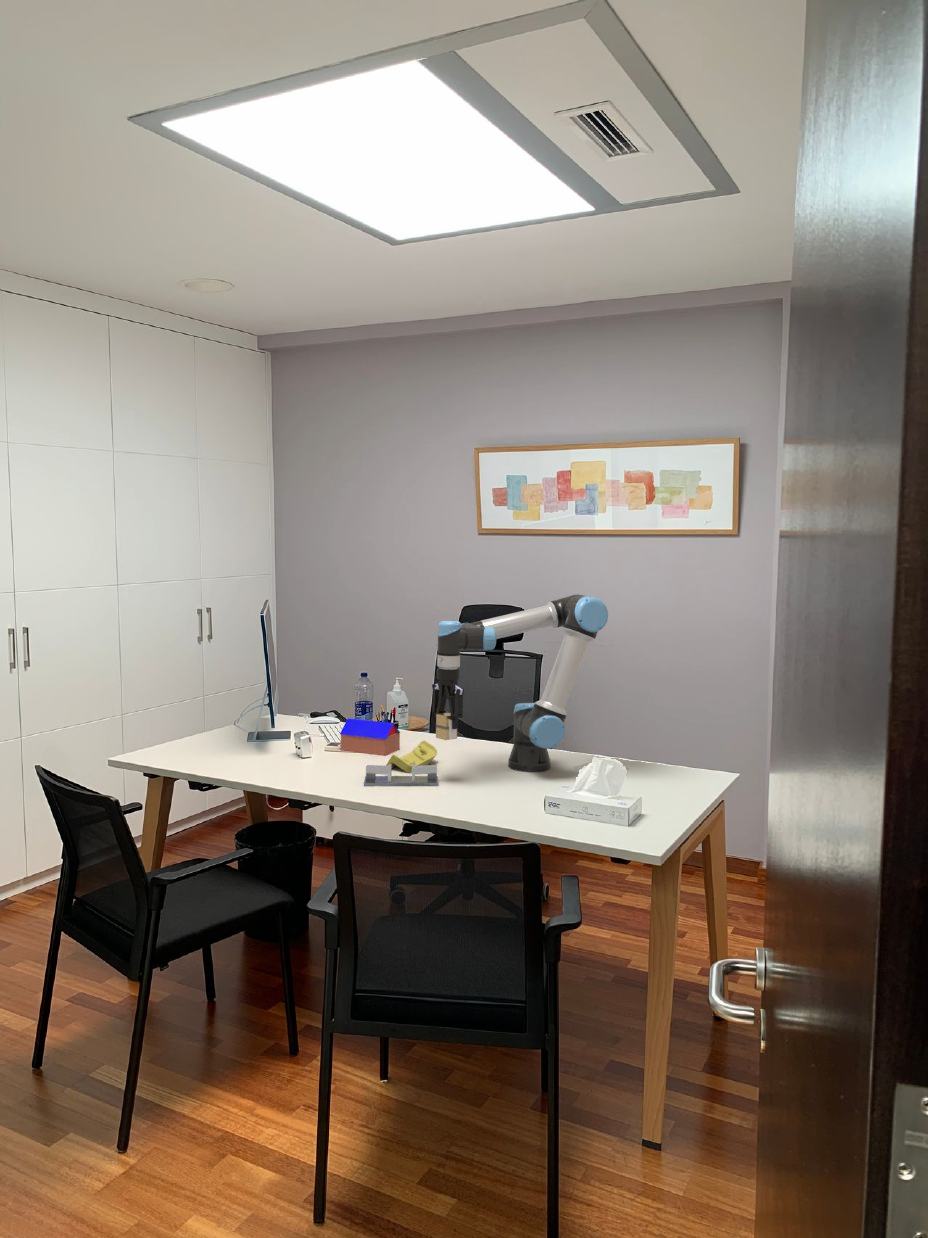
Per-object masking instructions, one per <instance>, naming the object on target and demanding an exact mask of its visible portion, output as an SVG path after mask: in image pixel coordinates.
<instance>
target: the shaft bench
mask: <svg viewBox="0 0 928 1238" xmlns="http://www.w3.org/2000/svg"><path fill="white" fill-rule="evenodd" d="M392 769H393V767H392V764H389V765H388V766H386V765H382V764H381V765H379V764H378V765H375V764H367V765H366V766H365V776H364V781H363V782H364V783H363V787H439V776H438V765H436V764H430V765H429V764H428V765H420V766H415V764H412V772H411V775H392Z"/></svg>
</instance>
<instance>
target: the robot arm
mask: <svg viewBox="0 0 928 1238" xmlns="http://www.w3.org/2000/svg"><path fill="white" fill-rule="evenodd" d="M608 619H609V611H608V608H607V606H606V604H605V603H604V602H603V601H602V600H601V599H600V598H597V597H595V596H591V595H583V594H572V595H568V596H565V597H562V598H559V599H554V600H551V601H548V602H547V604H546V605H543V606H538V607H534V608H529V609H525V610H521V611H517V612H512V613H508V614H504V615H500V616H495V617H491V618H487V619H482V620H480V621H479V620H477V621H473V622H470V623H469V622H464V623H461V622H460V621H455V620H442V621H440V622H439V623H438V628H437V661H436V662H437V663H436V666H437V669H436V679H437V680H438V681H437V683H434V684H431V687H432V688H431V689H432V706H431V707H432V709H431V712H432V714H434V715H436V714H440V713H445V710H446V709H445V708H446V703H447V701H448V706H449V713H450V714H451V718H449V739H451V740H455V739H454V738H456V731H457V732H458V727H459V726H458V724H459V722H458V721H459V719H462V718H463V717H464V715H463V714H464V710H463V709H464V692H465V688H463V687H462V688H461V687H459V683H458V681H459V680H460V678H461V677H460V674H461V671H460V666H461V650H462V651H466V650H468V651H469V650H470V651H488V650H489V651H490V650H494V649H495V647H496V644H497V640H498V639H501V638H507V637H511V636H515V635H519V634H522V633H523V634H524V633H528V632H531V631H536V630H541V629H545V628H548V627H549V628H550V627H552V628H553V629H557V628H562V630H563V631H564V637H563V639H562V642H561V644H560V645H561V646H560V647H559V651H558V653H557V656H556V659H555V660H554V664H553V667H552V669H551V670H550V671H551V672H550V674H549V678H548V679H547V681H546V682H547V683H546V686H545V687H544V689H543V693H542V696H541V698H540V699H539V700H538V701H537V700H536V701H535V702H521V703H516V704H515V705H514V709H513V745H512V748H511V751H510V754H509V758H508V766H507V767H509V768H510V769H511V770H516V771H520V772H521V771H522V772H543V771H547V770H550V768H551V765H552V764H551V763H552V762H551V758H550V755H549V751H548V750H549V749H553V748H555V747H557V746H559V744H561V742H562V741H563V740H564V738H565V736H566V726H565V722H566V721H565V720H566V718H567V715H568V713H567V711H566V709H565V708H566V705H567V703H568V700H569V697H570V694H571V692H572V690H573V686H574V685H575V681H576V679H577V676H578V674H579V670H580V668H581V665H582V662H583V660H584V657H585V654H586V652H587V649H588V647H589V644H590V643H591V642H594V641H596V637H597V636H598V633H599V631H601V630H602V629H604V628H605V626H606V625H607V623H608ZM454 715H455V716H454Z"/></svg>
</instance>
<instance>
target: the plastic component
mask: <svg viewBox="0 0 928 1238" xmlns="http://www.w3.org/2000/svg"><path fill="white" fill-rule="evenodd" d="M437 755H438V749H437V748H436V747H435V746H434V745H432V744H431V743H429V742H428V741H426V740H422V741H420V742H419V744H417V746H416V747H414V748H413V749H412V751H411V752H409V753H407V754H405V755H402V756H401V757H399V756H398V755H397V754H393V755H391V757H390V758H389V760H388V761H387V763H386V765H385V766H388V765H389V764H392V768H394V767H396V766H397V767H398V768H400V769H401V770H402V771H404V772H406V773H409V774H410V773H411V774H412V764H415V766H420V765H429V763H430V762H432V760H434V759H435V757H436V756H437Z"/></svg>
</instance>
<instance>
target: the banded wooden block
mask: <svg viewBox="0 0 928 1238" xmlns="http://www.w3.org/2000/svg"><path fill="white" fill-rule="evenodd" d="M454 716H455V715H454ZM435 718H436V721H435V738H436V739H439V740H443V741H449V740H452V739H449V718H451V714H450V712H444V713H440V714H435ZM456 739H458V730H457V731H456V738H454V739H453V740H456Z"/></svg>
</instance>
